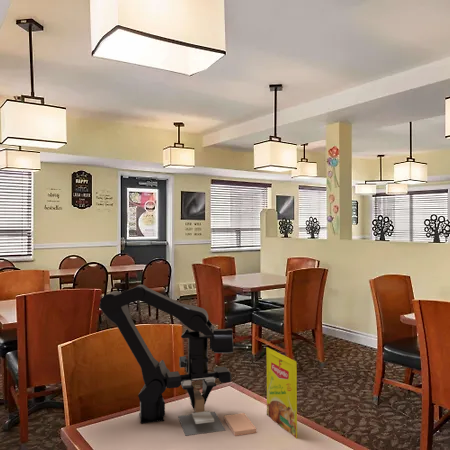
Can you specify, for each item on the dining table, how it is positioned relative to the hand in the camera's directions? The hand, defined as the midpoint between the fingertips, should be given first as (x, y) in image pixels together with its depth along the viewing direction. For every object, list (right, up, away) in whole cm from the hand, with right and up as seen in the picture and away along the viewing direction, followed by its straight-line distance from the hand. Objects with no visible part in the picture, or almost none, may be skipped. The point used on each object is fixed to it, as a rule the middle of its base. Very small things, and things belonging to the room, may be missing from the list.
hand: (198, 406), depth 123 cm
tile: (+10, -3, 0) cm, 11 cm away
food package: (+23, -3, -5) cm, 24 cm away
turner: (+1, -1, -3) cm, 3 cm away
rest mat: (+1, -3, -3) cm, 5 cm away
